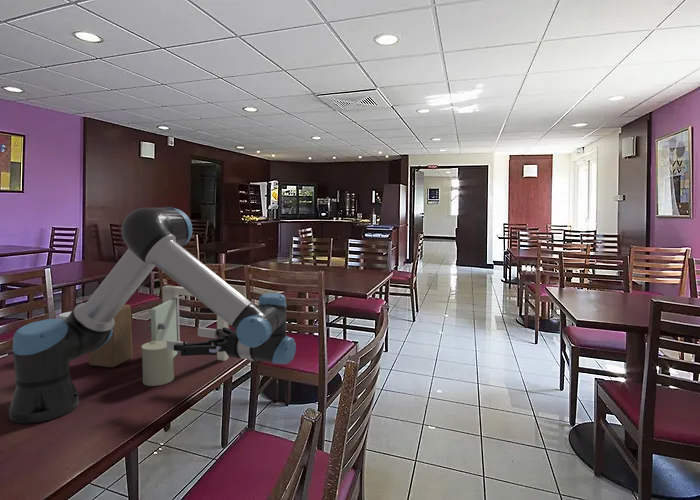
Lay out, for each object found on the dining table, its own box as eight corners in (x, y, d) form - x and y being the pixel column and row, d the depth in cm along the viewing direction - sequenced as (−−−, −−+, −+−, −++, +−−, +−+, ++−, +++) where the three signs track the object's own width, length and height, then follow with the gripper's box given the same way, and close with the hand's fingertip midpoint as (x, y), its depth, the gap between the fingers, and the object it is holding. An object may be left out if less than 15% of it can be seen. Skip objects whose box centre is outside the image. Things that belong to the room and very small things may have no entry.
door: (147, 371, 138) (145, 309, 135) (170, 352, 155) (169, 297, 153) (162, 371, 138) (160, 309, 135) (183, 352, 155) (182, 297, 153)
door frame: (224, 360, 149) (223, 292, 146) (164, 351, 157) (162, 286, 155) (228, 358, 151) (227, 291, 148) (168, 349, 160) (167, 285, 157)
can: (164, 371, 138) (163, 336, 137) (180, 378, 133) (179, 342, 131) (136, 380, 131) (135, 344, 129) (152, 388, 125) (151, 350, 124)
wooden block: (112, 368, 140) (110, 310, 138) (87, 366, 142) (84, 308, 140) (133, 358, 150) (131, 304, 148) (109, 356, 152) (107, 302, 150)
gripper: (217, 374, 109) (153, 364, 116) (265, 344, 132) (210, 337, 139) (216, 346, 108) (151, 338, 115) (265, 321, 132) (209, 316, 138)
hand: (183, 337), depth 127 cm, fingers open, 13 cm apart
